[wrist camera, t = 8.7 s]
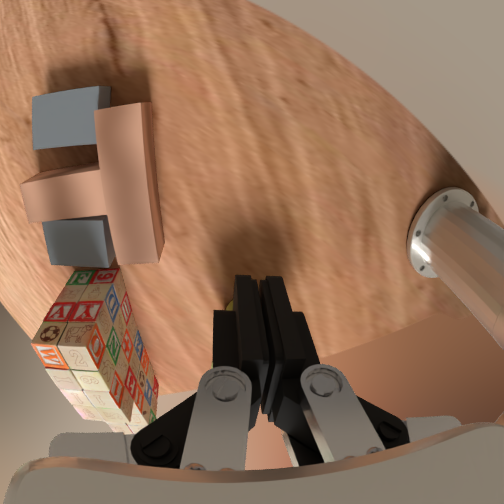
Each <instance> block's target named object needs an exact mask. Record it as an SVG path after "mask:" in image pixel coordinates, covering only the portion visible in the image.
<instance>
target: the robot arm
mask: <svg viewBox="0 0 504 504" xmlns="http://www.w3.org/2000/svg"><path fill="white" fill-rule="evenodd" d="M407 254H408V258H409V261H410V264H411V265H412V266H413V268H414V269H415V270H416V271H417V272H418V273H419V274H421V275H422V276H425V277H429V278H435V277H439V278H440V279H441V280H442V281H443V282H444V283H445V284H446V285H447V286H448V287H449V288H450V289H451V290H452V291H453V292H454V293H455V294H456V296H457V297H458V298H459V299H460V300H461V301H462V302H463V303H464V304H465V305H466V307H467V308H468V309H469V310H470V311H471V312H472V313H473V314H474V316H475V317H476V318H477V319H478V320H479V321H480V323H481V324H482V325H483V326H484V327H485V328H486V330H487V331H488V332H489V333H490V335H491V336H492V337H493V338H494V339H495V340H496V342H497V343H498V344H499V345H500V346H501V347H502V349H503V350H504V229H502V228H501V227H499V226H498V225H497V224H495V223H494V222H492V221H491V220H489V219H488V218H486V217H485V216H483V215H482V214H480V213H479V210H478V206H477V203H476V201H475V199H474V198H473V196H472V195H471V194H469V193H468V192H467V191H465V190H463V189H461V188H457V187H448V188H444V189H441V190H440V191H438V192H436V193H435V194H433V195H432V196H431V197H430V198H428V199H427V201H426V202H425V203H424V204H423V205H422V206H421V208H420V209H419V211H418V212H417V214H416V216H415V218H414V220H413V222H412V224H411V227H410V230H409V234H408V239H407ZM260 404H261V410H262V414H267V415H268V421H269V422H274V425H276V426H277V427H279V428H280V429H281V430H282V436H283V440H284V442H285V445H286V448H287V451H288V454H289V456H290V459H291V462H292V464H293V467H289V468H279V469H265V470H245V460H246V449H247V438H248V432H249V431H250V429H252V428H253V427H254V426H255V423H256V419H257V415H258V412H259V407H260ZM3 504H504V412H503V414H501V416H500V417H499V418H498V419H497V421H496V422H495V423H473V424H467V425H463V426H462V425H461V423H460V422H459V421H458V420H457V419H456V418H454V417H452V416H437V417H416V418H405V420H400V419H399V418H398V417H396V416H394V415H392V414H390V413H388V412H386V411H384V410H382V409H380V408H379V407H377V406H375V405H373V404H371V403H369V402H367V401H366V400H364V399H362V398H360V397H358V396H356V395H355V393H354V391H353V389H352V388H351V386H350V384H349V382H348V381H347V379H346V377H345V376H344V375H343V373H342V372H341V371H339V370H338V369H337V368H334V367H332V366H330V365H325V364H320V362H319V358H318V355H317V352H316V349H315V346H314V343H313V340H312V337H311V334H310V331H309V328H308V325H307V322H306V319H305V316H304V314H303V312H292V308H291V305H290V302H289V298H288V295H287V292H286V288H285V285H284V282H283V278H282V277H281V276H266V279H265V280H260V285H259V291H258V285H257V280H253V279H251V276H250V275H235V284H234V297H233V310H232V311H229V310H214V317H213V368H212V369H210V370H208V371H207V372H206V373H205V374H204V375H203V376H202V378H201V380H200V382H199V386H198V390H197V392H196V393H195V394H193V395H192V396H190V397H189V398H187V399H186V400H185V401H183V402H182V403H180V404H179V405H177V406H176V407H174V408H173V409H171V410H170V411H168V412H167V413H165V414H164V415H162V416H161V417H159V418H158V419H156V420H155V421H153V422H152V423H150V424H149V425H147V426H146V427H144V428H142V429H141V430H140V431H138V432H137V433H136V434H124V432H112V433H61V434H59V435H57V436H56V437H54V439H53V440H52V441H51V443H50V448H49V457H46V458H40V459H36V460H32V461H29V462H27V463H25V464H23V465H22V466H21V467H20V468H19V469H18V470H17V471H16V472H15V474H14V476H13V477H12V479H11V482H10V484H9V486H8V489H7V492H6V495H5V499H4V502H3Z"/></svg>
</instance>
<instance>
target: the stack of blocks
mask: <svg viewBox="0 0 504 504" xmlns="http://www.w3.org/2000/svg"><path fill="white" fill-rule="evenodd" d="M31 345H32V347H33V348H34V350H35V352H36V353H37V355H38V356H39V358H40V360H41V361H42V363H43V364H44V366H45V370H46V371H47V373H48V374H49V376H50V377H51V379H52V380H53V381H54V383H55V384H56V385H57V387H58V388H59V389H60V391H61V392H62V393H63V394H64V396H65V397H66V398H67V400H68V401H69V402H70V403H71V404H72V405H73V407H74V408H75V409H76V410H77V412H78V413H79V414H80V415H81V417H82V418H83V419H88V420H97V421H105V422H106V423H107V424H108V425H109V426H110V428H111V429H112V430H113V431H114V432H124V434H136V433H137V432H138V431H140V430H141V429H142V428H144V427H146V426H147V425H149V424H150V423H152V422H153V421H155V420H156V411H157V397H158V388H159V385H158V383H157V380H156V378H155V376H154V372H153V369H152V366H151V364H150V362H149V358H148V356H147V353H146V350H145V347H144V346H143V343H142V340H141V337H140V334H139V331H138V330H137V326H136V323H135V320H134V317H133V314H132V309H131V305H130V302H129V299H128V295H127V292H126V288H125V284H124V280H123V277H122V273H121V269H120V268H117V269H101V270H90V271H75V272H74V273H73V274H72V276H71V277H70V279H69V280H68V282H67V283H66V285H65V287H64V289H63V290H62V291H61V293H60V295H59V296H58V298H57V299H56V301H55V303H54V304H53V305H52V307H51V308H50V310H49V312H48V313H47V315H46V316H45V318H44V320H43V323H42V325H41V326H40V328H39V329H38V331H37V333H36V335H35V337H34V338H33V340H32V342H31Z"/></svg>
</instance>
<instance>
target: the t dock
mask: <svg viewBox="0 0 504 504" xmlns="http://www.w3.org/2000/svg"><path fill="white" fill-rule="evenodd" d="M110 94H111V87H109V86H94V87H86V88H79V89H72V90H66V91H60V92H55V93H49V94H44V95H39V96H35V97H32V134H33V150H37V149H45V148H54V147H64V146H75V145H88V144H97V141H96V131H95V119H94V111H95V110H100V109H105V108H110ZM42 225H43V230H44V235H45V240H46V245H47V250H48V254H49V258H50V262H51V265H64V266H82V267H101V268H109V267H110V265H111V263H112V262H113V260H114V258H115V256H116V254H115V250H114V245H113V241H112V236H111V231H110V226H109V221H108V216H107V215H99V216H89V217H80V218H71V219H62V220H53V221H45V222H42Z"/></svg>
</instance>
